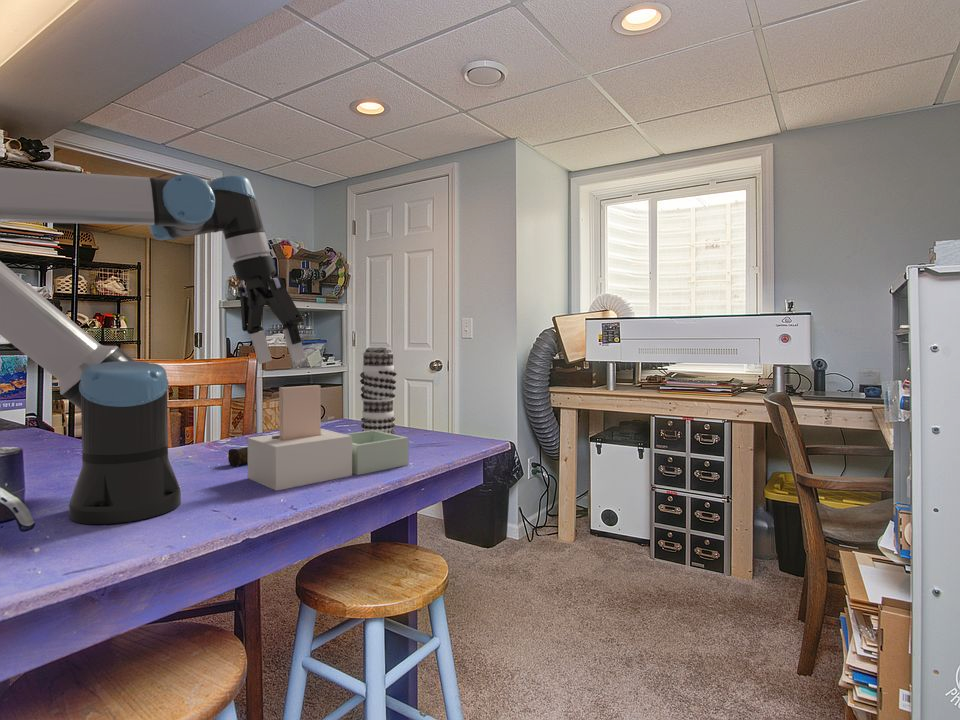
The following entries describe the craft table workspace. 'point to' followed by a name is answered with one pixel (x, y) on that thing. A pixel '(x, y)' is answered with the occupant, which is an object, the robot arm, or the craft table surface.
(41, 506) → the craft table surface
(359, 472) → the bin
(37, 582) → the craft table surface
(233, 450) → the hand tool
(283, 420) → the ticket
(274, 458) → the dispenser
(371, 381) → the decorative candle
